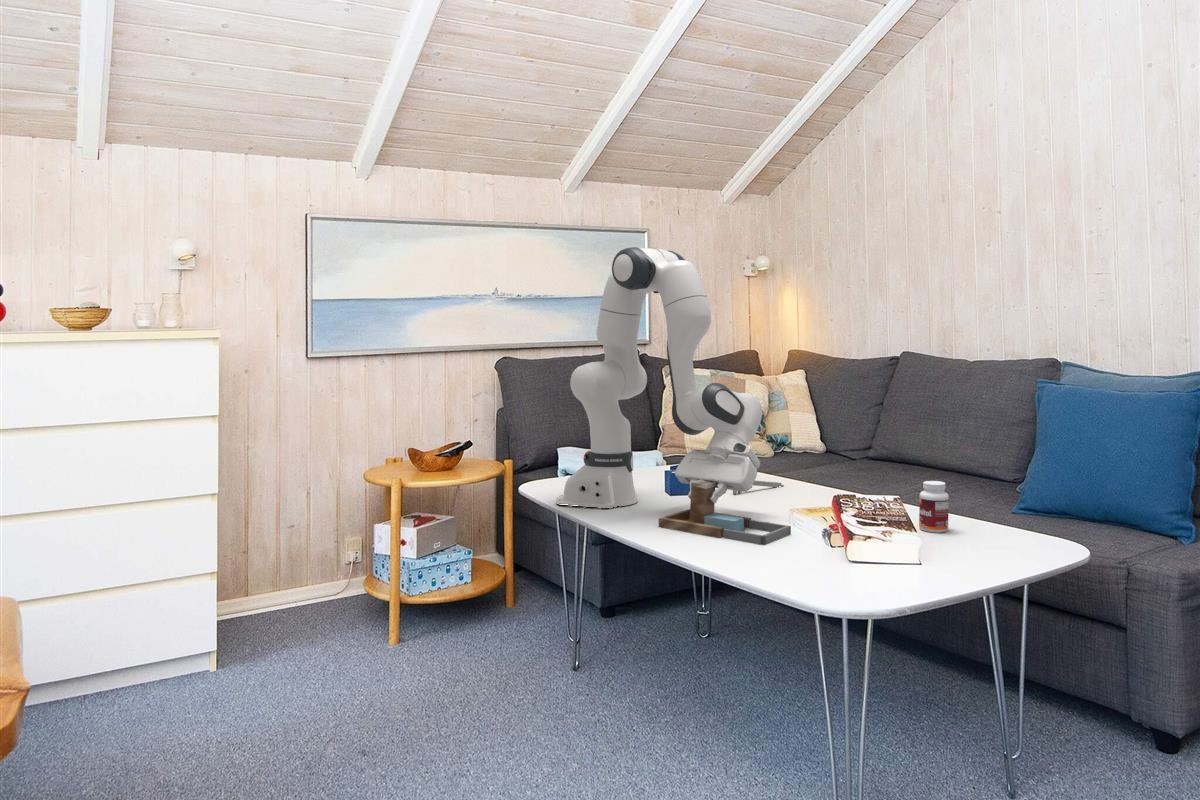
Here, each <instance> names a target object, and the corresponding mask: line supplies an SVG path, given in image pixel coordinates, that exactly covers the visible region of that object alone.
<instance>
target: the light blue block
mask: <svg viewBox="0 0 1200 800" xmlns="http://www.w3.org/2000/svg"><path fill="white" fill-rule="evenodd" d="M735 516H736V515H735ZM735 516H726V517H723V518H720V519H719V527H723V528H724V529H729V530H735V531H741V532H745V529H744V518H741V517H742V516H741V517H735Z"/></svg>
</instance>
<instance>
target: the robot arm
mask: <svg viewBox="0 0 1200 800" xmlns="http://www.w3.org/2000/svg"><path fill="white" fill-rule="evenodd" d="M650 292H653V293H654V294H659V296H660V298H661V302H662V308H663V310H664V316H665V320H666V322H665V323H666V330H667V331H666V333H667V337H666V338H667V340H666V355H667V361H668V362H667V363H668V369H669V370H668V371H669V377H670V384H671V390H672V406H671V416H672V420H673V422H674V424H675V426H676V427H677V428H678V430H680V431H681V433H684V434H686V435H689V436H697V435H700V434H701V433H703V432H705V431H706V430H708V429H709V428H712V429H713V430H714V433H713V435H712V437H711V439H710V441H709V443H708V445H707V447H706V449H704V450H703V449H701V450H700V449H693V450H692V451H689V452H687V453H686V455H685V456H684V457H683V459H682V460H681V461H680V462H679V464H678V465H677V468H676V469H675V471H674V475H675V477H676V478H677V481H678V482H680V483H681V484H686V485H689V492H688V494H687V497H688V498H689V499H690V500H691V482H693V481H697V480H706V481H711V482H715V483H716V486H715V491H714V492H713V493H711V492H710V494H709V496H708V500H709V502H712V503H715V504H716V503H717V502H718V500H719V498H720V497H722V496H723V495H724V494H726V493H727V491H728V490H729V491H733V490H736V491H737V492H738V491H742V493H746V492H748V491H749V490H751V489H752V488H753V486H754V485H753V483H754V481H756V478H757V474H758V469H759V467H760V466H761V462H760V459H759V457H758V456H757V454H756V453H755V451H754V450H753V449H752V448H751V446H749V443H750V442H751V441H752V440H754V437H755V436H756V434H757V431H758V429H759V427H760V425H761V421H762V417H763V406H762V404H761V402H760V401H759V400H758V398H756V397H755V396H754V395H752V394H751V393H747V392H738V391H733V390H732V389H729V388H728V386H727V385H724V384H723V383H720V382H711V383H709V384H707V385H705V386H703V387H701V388H699V389H697V388H698V387H697V380H696V377H695V376H696V375H695V369H694V355H695V352H696V349H697V348H698V345H699V344H700V343H701V341H702V339H703V338H704V336H705V335H706V334H707V332H708V331H709V329H710V325H711V324H712V323H711V322H712V312H711V307H710V304H709V303H710V302H709V299H708V295H707V293H706V292H707V291H706V288H705V286H704V283H703V281H702V278H701V276H700V274H699V272H698V270H697V268H696V266H695V265H694V264H693V263H692V262H691V261H688V260H686V259H685V258H684V257H683V256H682V255H681V254H679V253H677V252H675V251H673V250H665V249H661V248H657V247H637V246H635V247H634V246H632V247H627V248H623V249H621V250H620V251H618V252H617V253H616V255H615V256H614V258H613V260H612V264H611V273H610V274H609V275H608V277H607V281H606V283H605V286H604V289H603V294H602V296H601V302H600V307H599V309H600V310H599V313H598V314H599V316H598V321H597V327H596V338H597V341H598V342H599V343H600V344H601V345H602V346H603V350H604V360H601V361H591V362H588V363H585V364H581V365H580V366H577V367H576V368H575V369H574V370H573V371H572V373H571V376H570V381H569V382H570V383H569V384H570V385H569V386H570V390H571V392H572V394H573V396H574V397H575V398H576V399H577V400H578V401H580V403H581V404H582V407H583V408H584V410H585V413H586V415H587V419H588V423H589V436H590V437H589V438H590V449H589V450H587V451H585V453H584V455H583V463H584V465H583V466H581V467H580V468H579V469H578V470H576V471H575V472H574V473H573V474H571V475H570V476H569V477H568V478H567V480H566V481H565V485H564V489H563V494H560V495H559V496H558V497H557V498H556V501H555V503H556V502H557V503H558V504H568V505H578V506H587V507H598V508H597V509H601V508H609V509H613V507H614V508H618V507H617V506H619V507H623V506H624V507H625V506H630V505H634V504H636V503H637V502H638V501H639V500H638V497H637V493H636V490H635V484H634V477H633V471H634V456H633V453H634V452H633V450H632V446H631V445H632V441H631V438H632V435H631V430H632V429H631V423H630V421H629V419H628V418H627V417H625V416H624V414H623V413H622V411H621V408H620V405H619V401H622V400H629V399H631V398H634V397H636V396H638V395H640V394H641V393H643V392H644V390H645V389H646V387H647V384H648V375H647V372H646V370H645V368H644V367H643V365H642V364H641V362H640V358H639V353H638V352H639V350H638V338H639V337H638V336H639V330H640V323H641V322H640V321H641V317H642V308H643V302H644V299H645V296H646V295H647V294H648V293H650ZM751 487H752V488H751Z"/></svg>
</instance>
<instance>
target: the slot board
mask: <svg viewBox="0 0 1200 800" xmlns="http://www.w3.org/2000/svg"><path fill="white" fill-rule="evenodd" d="M714 513H716V514H723V515H729V516H735V517H741V518H744V530H746V529H750V528H749V520H752V517H746V516H740V515H734V514H727V513H719V512H715V511H714ZM689 521H690V508H688V509H685V510H682V511H678V512H675V513H672V514H668V515H665V516H662V517H659V518H658V527H659V528H661V529H662V528H664V529H668V530H673V531H679V532H682V533H683V532H685V533H689V534H695V535H701V536H706V537H712V538H716V539H722V538H723V529H724V528H723V527H717V526H711V525H705V524H699V523H694V522H689Z"/></svg>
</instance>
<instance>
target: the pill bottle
mask: <svg viewBox="0 0 1200 800" xmlns="http://www.w3.org/2000/svg"><path fill="white" fill-rule="evenodd" d="M922 488H923V490H922V491H920V493H919V505H918V506H919V507H918V508H919V510H918V511H919V512H918V518H919V520H918V526H919V529H920V530H921V531H924V532H927V533H932V532H933V534H937V533H938V534H940V533H941V532H942V533H946V532H947V531H948V530H949V514H950V513H949V510H950V509H949V507H950V506H949V503H950V502H949V500H950V497H949V494H948V492H946V491H945V490H946V482H945V481H939V480H927V481H923V484H922Z"/></svg>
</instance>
